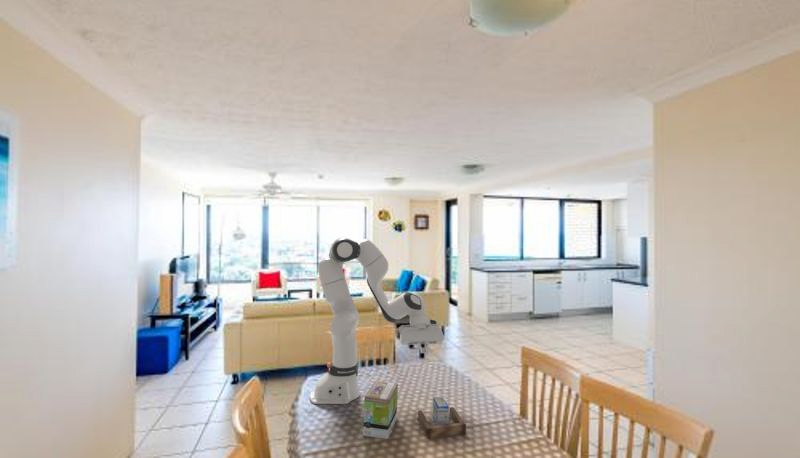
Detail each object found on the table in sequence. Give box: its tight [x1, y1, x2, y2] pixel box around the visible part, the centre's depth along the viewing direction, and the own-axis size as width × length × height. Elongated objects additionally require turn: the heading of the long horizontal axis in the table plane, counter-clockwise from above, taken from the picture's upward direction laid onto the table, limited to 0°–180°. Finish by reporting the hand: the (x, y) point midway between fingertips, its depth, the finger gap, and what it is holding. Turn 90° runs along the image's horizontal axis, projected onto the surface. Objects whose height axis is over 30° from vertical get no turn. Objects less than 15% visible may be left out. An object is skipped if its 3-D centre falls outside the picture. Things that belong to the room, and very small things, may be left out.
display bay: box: [417, 406, 467, 439], centre depth 142 cm, size 15×14×4 cm
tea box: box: [362, 380, 399, 440], centre depth 141 cm, size 15×10×15 cm
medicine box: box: [432, 396, 450, 425], centre depth 144 cm, size 8×4×9 cm, turn 10°
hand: (424, 352), depth 165 cm, fingers closed
